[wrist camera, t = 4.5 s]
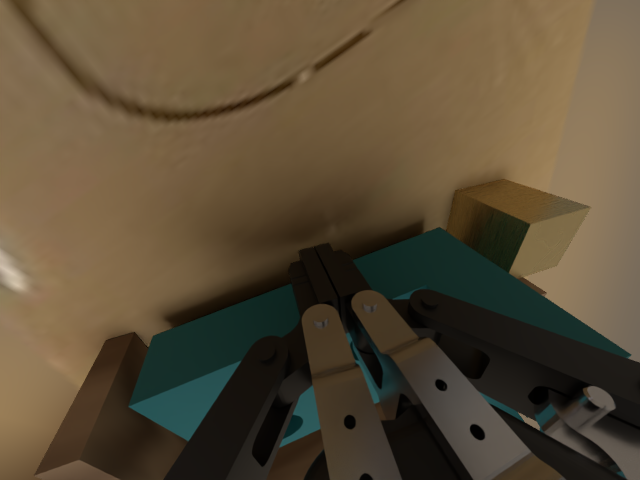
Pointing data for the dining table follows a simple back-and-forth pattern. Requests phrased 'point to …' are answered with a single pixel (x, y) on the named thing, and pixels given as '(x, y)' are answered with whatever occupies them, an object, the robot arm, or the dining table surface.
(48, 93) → the dining table surface
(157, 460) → the bracket
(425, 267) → the teal l-shaped bracket
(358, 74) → the dining table surface
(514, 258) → the key block
